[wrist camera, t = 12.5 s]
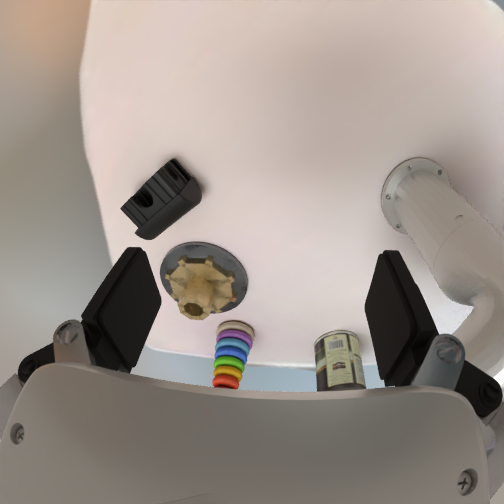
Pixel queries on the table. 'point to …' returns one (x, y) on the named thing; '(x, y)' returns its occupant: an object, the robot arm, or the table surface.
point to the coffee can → (338, 362)
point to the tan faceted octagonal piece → (201, 286)
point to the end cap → (162, 200)
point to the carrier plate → (219, 256)
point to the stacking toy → (231, 354)
